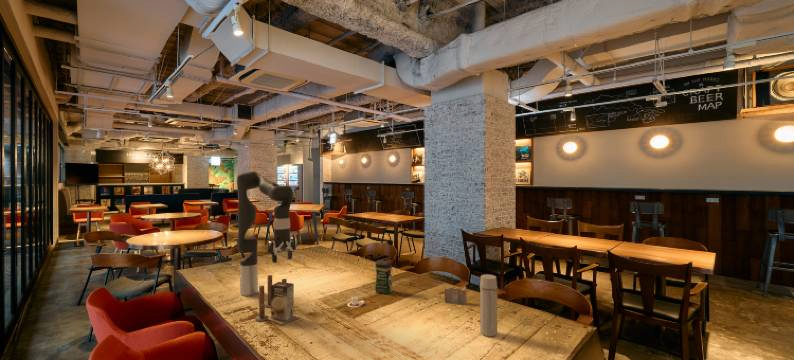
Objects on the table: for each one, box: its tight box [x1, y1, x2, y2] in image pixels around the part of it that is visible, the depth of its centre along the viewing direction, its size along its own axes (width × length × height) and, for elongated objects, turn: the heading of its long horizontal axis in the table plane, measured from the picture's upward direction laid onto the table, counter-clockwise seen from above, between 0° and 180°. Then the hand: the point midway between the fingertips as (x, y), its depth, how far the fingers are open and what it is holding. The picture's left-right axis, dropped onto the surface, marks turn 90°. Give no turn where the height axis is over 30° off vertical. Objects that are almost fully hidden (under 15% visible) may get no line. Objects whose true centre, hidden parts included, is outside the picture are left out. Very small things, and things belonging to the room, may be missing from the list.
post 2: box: [264, 274, 273, 309], centre depth 189 cm, size 6×6×16 cm
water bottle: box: [479, 274, 500, 338], centre depth 153 cm, size 9×8×25 cm
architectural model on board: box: [444, 285, 468, 305], centre depth 192 cm, size 11×3×10 cm, turn 74°
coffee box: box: [270, 281, 295, 321], centre depth 172 cm, size 9×6×16 cm
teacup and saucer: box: [347, 296, 365, 308], centre depth 190 cm, size 9×8×4 cm
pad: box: [266, 314, 300, 326], centre depth 172 cm, size 12×10×1 cm
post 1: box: [254, 285, 270, 323], centre depth 172 cm, size 6×6×16 cm
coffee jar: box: [374, 259, 393, 295], centre depth 209 cm, size 10×8×19 cm
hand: (282, 260), depth 172 cm, fingers open, 8 cm apart
